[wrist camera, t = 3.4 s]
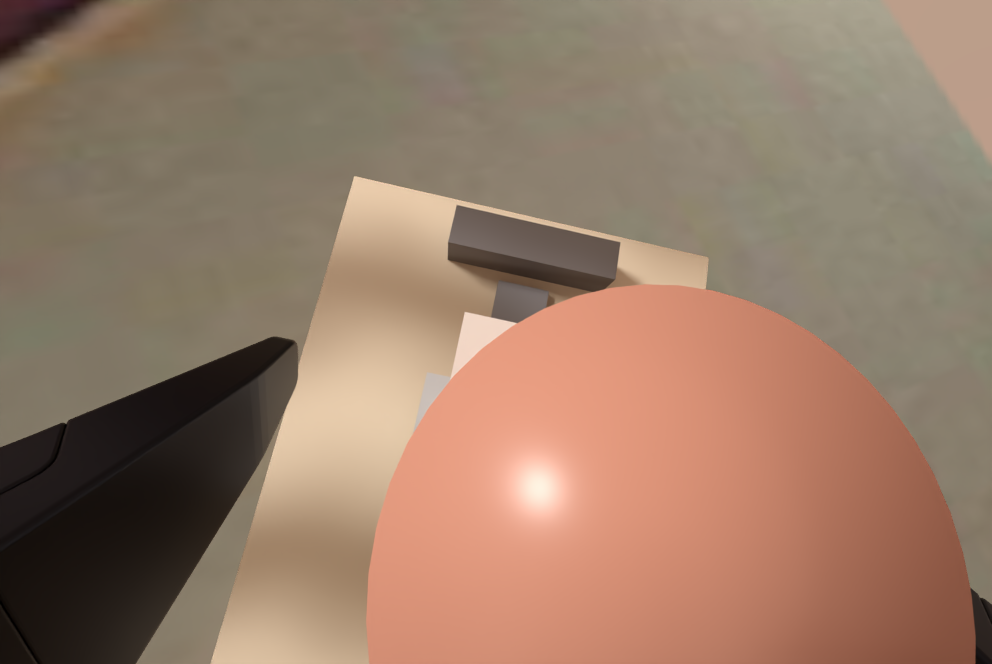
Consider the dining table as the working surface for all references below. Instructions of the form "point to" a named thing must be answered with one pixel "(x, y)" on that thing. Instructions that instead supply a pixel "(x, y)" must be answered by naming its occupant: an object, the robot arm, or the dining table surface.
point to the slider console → (391, 393)
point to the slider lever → (662, 499)
